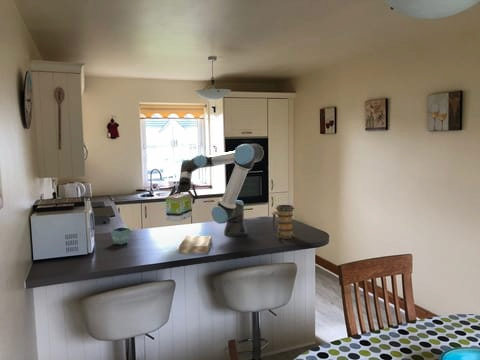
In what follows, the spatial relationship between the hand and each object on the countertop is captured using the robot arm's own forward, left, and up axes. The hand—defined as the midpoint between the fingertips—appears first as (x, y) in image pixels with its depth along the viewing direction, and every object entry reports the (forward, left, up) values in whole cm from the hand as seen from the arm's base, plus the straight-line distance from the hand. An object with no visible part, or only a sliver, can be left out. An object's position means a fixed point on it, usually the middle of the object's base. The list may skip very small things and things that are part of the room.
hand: (181, 207), depth 230 cm
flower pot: (+39, +1, -22) cm, 45 cm away
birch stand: (-10, +12, -22) cm, 27 cm away
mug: (-63, -9, -22) cm, 68 cm away
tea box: (+1, +3, -7) cm, 7 cm away
